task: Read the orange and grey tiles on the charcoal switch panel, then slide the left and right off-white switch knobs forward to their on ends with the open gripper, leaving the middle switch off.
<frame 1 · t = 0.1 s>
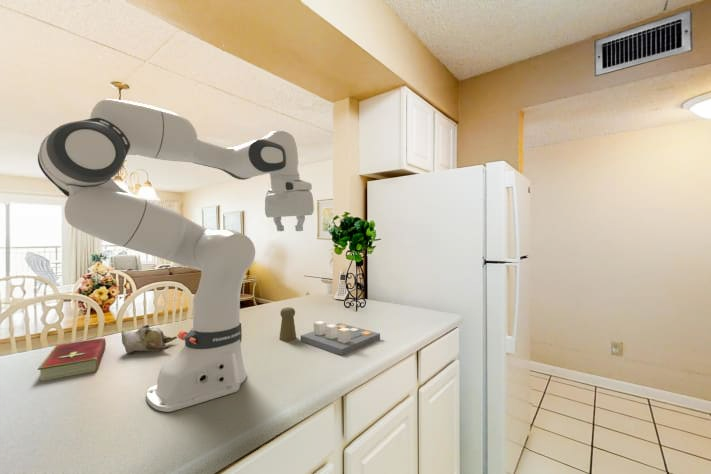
hand: (289, 231, 99), 39 cm above the countertop, fingers open, 8 cm apart
switch panel: (340, 340, 112), on the countertop
hardcover book: (76, 364, 93), on the countertop
switch left: (319, 328, 113), point 4 cm above the countertop, slide at 0.0 cm
ceramic sculpture: (148, 351, 103), on the countertop
cork: (287, 338, 114), on the countertop
switch right: (344, 335, 105), point 4 cm above the countertop, slide at 0.0 cm
switch middle: (331, 331, 109), point 4 cm above the countertop, slide at 0.0 cm
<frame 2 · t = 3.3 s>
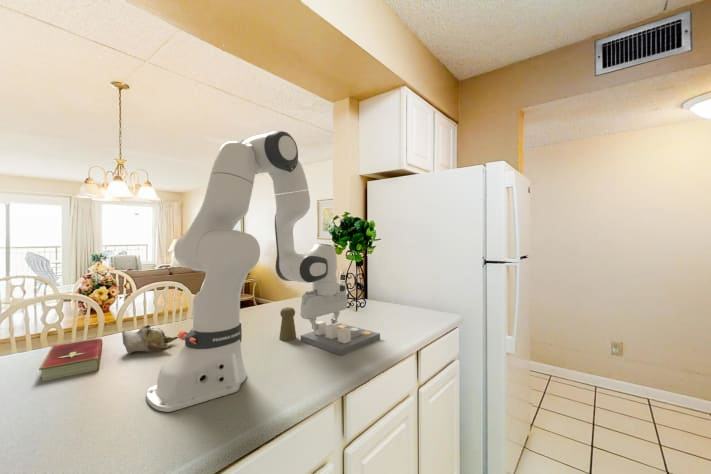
hand: (325, 326, 115), 4 cm above the countertop, fingers open, 8 cm apart
switch left: (319, 328, 113), point 4 cm above the countertop, slide at 0.0 cm, touching gripper
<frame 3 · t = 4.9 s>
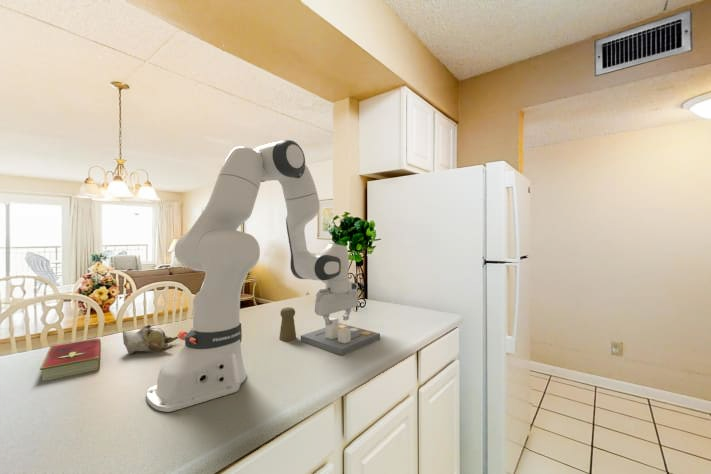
hand: (337, 322, 119), 4 cm above the countertop, fingers open, 8 cm apart
switch left: (332, 324, 117), point 4 cm above the countertop, slide at 6.5 cm, touching gripper
everything else where it was.
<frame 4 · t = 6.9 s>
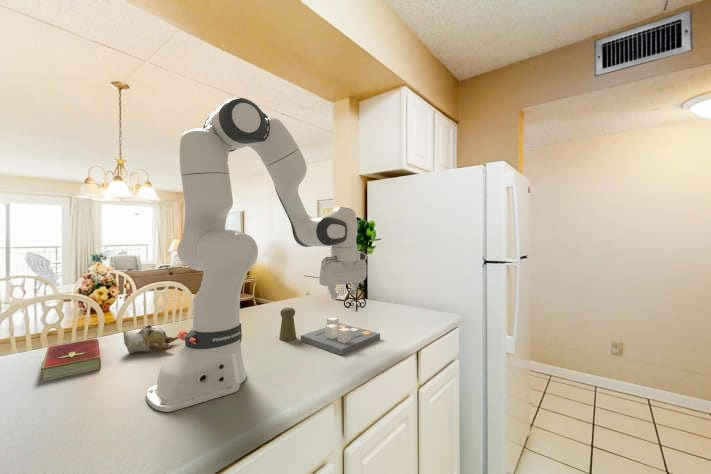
hand: (344, 296, 107), 17 cm above the countertop, fingers open, 8 cm apart
switch left: (332, 324, 117), point 4 cm above the countertop, slide at 6.5 cm
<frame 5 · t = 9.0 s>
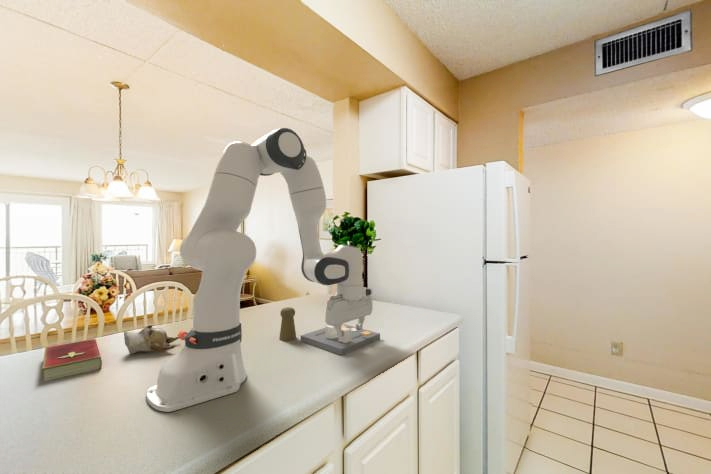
hand: (350, 332, 107), 4 cm above the countertop, fingers open, 8 cm apart
switch right: (344, 335, 105), point 4 cm above the countertop, slide at 0.3 cm, touching gripper
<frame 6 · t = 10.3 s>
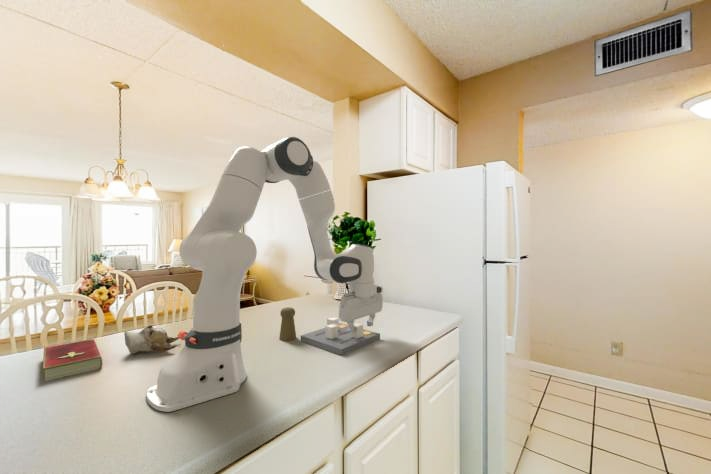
hand: (361, 328, 111), 4 cm above the countertop, fingers open, 8 cm apart
switch right: (357, 330, 110), point 4 cm above the countertop, slide at 6.5 cm, touching gripper
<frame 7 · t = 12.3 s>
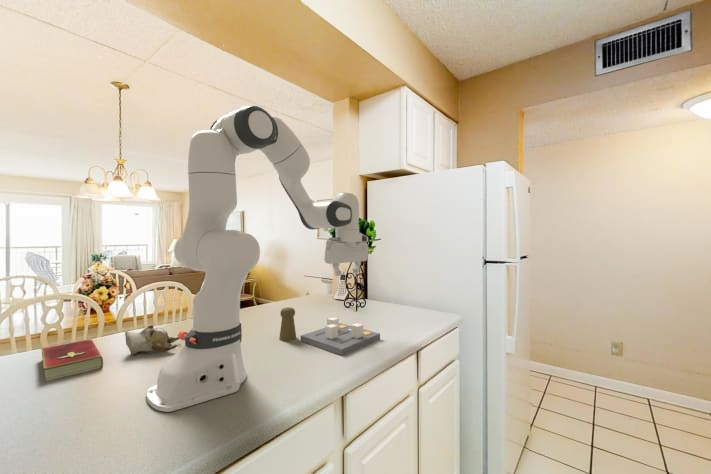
hand: (347, 274, 117), 23 cm above the countertop, fingers open, 8 cm apart
switch right: (357, 330, 110), point 4 cm above the countertop, slide at 6.5 cm
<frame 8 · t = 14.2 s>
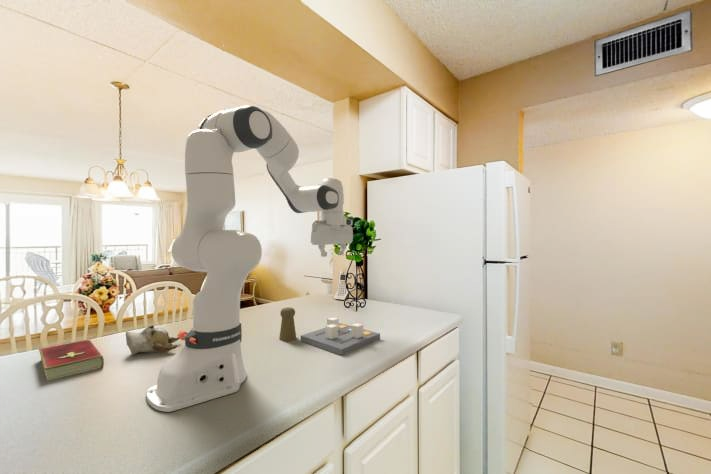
hand: (332, 255, 124), 29 cm above the countertop, fingers open, 8 cm apart
at the end: switch left slide at 6.5 cm; switch right slide at 6.5 cm; switch middle slide at 0.0 cm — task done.
